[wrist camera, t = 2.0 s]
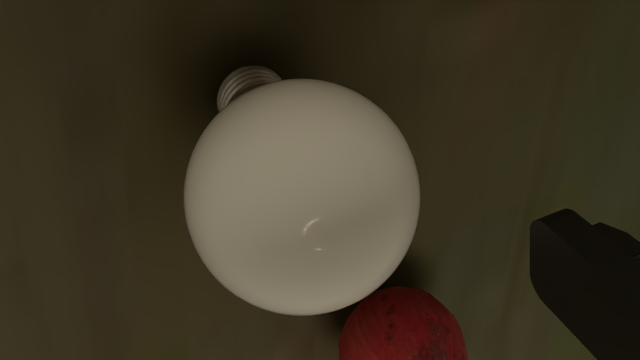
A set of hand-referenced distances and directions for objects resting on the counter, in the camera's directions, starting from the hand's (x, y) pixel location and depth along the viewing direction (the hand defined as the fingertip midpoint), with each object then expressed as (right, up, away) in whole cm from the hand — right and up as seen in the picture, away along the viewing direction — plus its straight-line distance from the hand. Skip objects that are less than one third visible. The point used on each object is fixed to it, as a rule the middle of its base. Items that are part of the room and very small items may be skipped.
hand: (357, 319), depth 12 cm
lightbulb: (-4, +6, +11) cm, 13 cm away
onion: (+2, -3, +18) cm, 19 cm away
